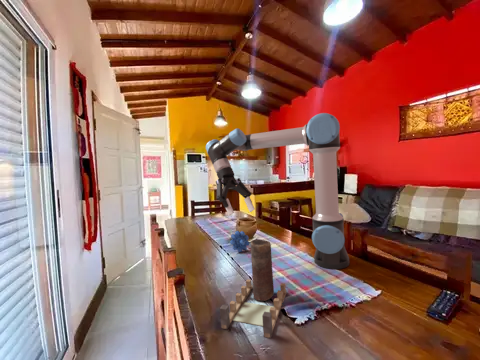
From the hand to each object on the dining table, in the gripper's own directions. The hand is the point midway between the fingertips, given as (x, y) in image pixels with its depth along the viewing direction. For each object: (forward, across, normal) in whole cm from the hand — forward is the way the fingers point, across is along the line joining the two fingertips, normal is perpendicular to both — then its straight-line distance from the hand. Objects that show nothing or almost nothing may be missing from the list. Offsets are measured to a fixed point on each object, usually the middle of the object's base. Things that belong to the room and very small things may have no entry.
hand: (242, 212), depth 104 cm
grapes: (+12, -21, -30) cm, 38 cm away
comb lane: (+34, +15, +2) cm, 38 cm away
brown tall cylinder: (+33, +8, 0) cm, 34 cm away
